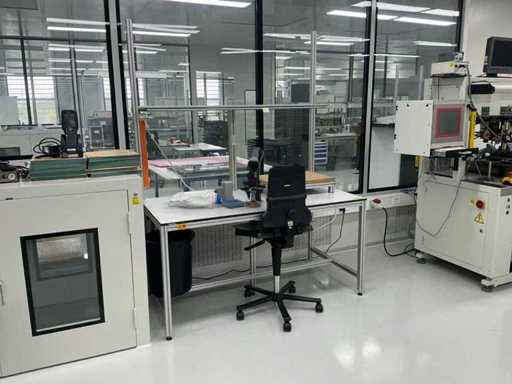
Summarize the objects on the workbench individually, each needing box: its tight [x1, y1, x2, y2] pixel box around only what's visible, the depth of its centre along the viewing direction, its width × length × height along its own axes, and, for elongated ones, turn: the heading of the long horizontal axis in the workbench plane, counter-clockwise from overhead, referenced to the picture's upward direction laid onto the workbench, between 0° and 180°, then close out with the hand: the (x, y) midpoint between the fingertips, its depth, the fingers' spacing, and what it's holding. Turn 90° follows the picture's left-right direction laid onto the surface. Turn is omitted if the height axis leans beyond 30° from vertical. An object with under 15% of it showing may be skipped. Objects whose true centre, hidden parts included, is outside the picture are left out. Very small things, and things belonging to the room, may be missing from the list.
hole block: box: [244, 200, 262, 209], centre depth 301 cm, size 8×8×3 cm
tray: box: [220, 198, 245, 209], centre depth 302 cm, size 13×11×3 cm
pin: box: [250, 190, 256, 203], centre depth 301 cm, size 4×4×11 cm
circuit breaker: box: [213, 180, 235, 201], centre depth 312 cm, size 8×14×15 cm, turn 104°
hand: (253, 199), depth 301 cm, fingers open, 7 cm apart
